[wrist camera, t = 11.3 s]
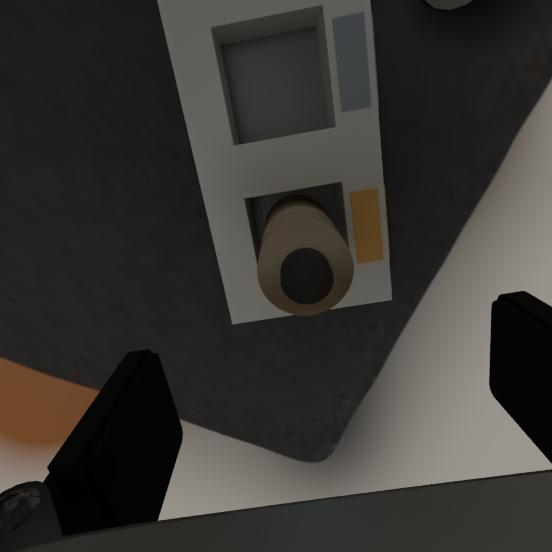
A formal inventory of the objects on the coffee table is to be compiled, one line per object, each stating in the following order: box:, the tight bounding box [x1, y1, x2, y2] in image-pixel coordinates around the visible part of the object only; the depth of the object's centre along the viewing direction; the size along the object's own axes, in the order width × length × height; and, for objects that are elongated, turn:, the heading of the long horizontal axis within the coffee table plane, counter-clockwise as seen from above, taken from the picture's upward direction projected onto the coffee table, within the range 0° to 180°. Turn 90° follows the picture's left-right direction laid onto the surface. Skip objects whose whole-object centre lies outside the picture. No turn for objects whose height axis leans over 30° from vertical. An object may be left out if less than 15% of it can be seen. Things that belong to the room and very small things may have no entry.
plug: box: [257, 195, 354, 316], centre depth 24 cm, size 5×5×12 cm
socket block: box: [157, 0, 392, 324], centre depth 26 cm, size 22×12×5 cm, turn 10°
